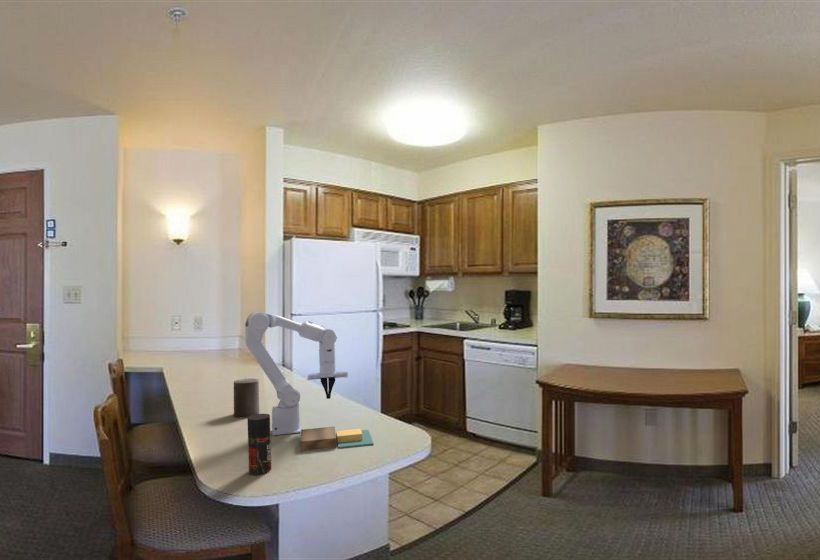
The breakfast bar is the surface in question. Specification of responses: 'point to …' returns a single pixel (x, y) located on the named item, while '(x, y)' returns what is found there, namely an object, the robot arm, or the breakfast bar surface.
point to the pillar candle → (246, 397)
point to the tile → (349, 435)
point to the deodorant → (259, 444)
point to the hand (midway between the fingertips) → (328, 398)
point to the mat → (366, 441)
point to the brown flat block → (318, 438)
